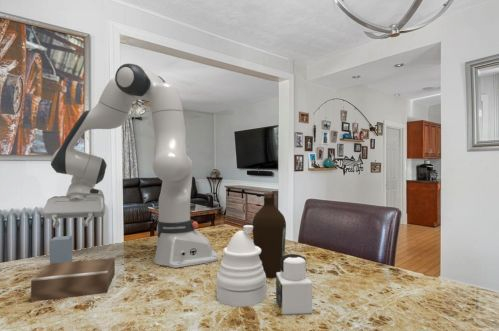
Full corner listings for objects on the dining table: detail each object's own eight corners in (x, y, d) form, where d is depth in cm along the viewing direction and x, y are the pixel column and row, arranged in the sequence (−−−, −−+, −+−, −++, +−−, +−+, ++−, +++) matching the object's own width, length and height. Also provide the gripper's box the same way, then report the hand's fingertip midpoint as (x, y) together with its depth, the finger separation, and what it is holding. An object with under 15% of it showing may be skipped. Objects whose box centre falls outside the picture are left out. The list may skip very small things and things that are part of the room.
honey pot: (271, 288, 79) (271, 222, 79) (257, 310, 66) (257, 232, 67) (228, 282, 83) (228, 220, 83) (207, 302, 71) (207, 228, 71)
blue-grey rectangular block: (72, 265, 98) (72, 235, 98) (67, 270, 93) (67, 239, 93) (55, 266, 96) (55, 236, 96) (49, 271, 91) (49, 240, 91)
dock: (114, 274, 89) (114, 257, 89) (106, 292, 76) (107, 272, 76) (51, 280, 84) (51, 262, 84) (30, 301, 71) (31, 280, 71)
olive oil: (253, 278, 86) (253, 194, 86) (251, 266, 96) (251, 191, 96) (288, 278, 86) (288, 194, 86) (283, 266, 97) (283, 191, 97)
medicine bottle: (275, 300, 71) (275, 252, 72) (304, 299, 72) (303, 251, 72) (281, 315, 64) (281, 261, 64) (312, 313, 65) (312, 260, 65)
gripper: (46, 191, 108) (33, 222, 98) (106, 190, 113) (99, 219, 103) (51, 201, 112) (39, 232, 102) (108, 200, 117) (102, 229, 107)
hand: (70, 226), depth 103 cm, fingers open, 8 cm apart
